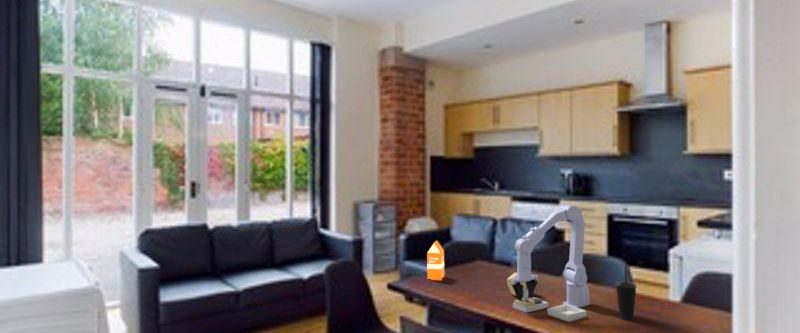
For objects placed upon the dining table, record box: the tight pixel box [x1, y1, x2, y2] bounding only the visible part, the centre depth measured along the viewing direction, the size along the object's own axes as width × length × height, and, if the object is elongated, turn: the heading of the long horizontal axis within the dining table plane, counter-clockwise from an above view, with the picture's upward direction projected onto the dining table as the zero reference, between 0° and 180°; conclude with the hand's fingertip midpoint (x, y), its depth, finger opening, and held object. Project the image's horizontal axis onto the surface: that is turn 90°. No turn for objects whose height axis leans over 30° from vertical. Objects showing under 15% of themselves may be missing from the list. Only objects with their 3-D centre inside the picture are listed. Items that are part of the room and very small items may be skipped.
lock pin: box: [521, 287, 529, 303], centre depth 201 cm, size 3×3×7 cm
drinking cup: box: [614, 267, 637, 321], centre depth 187 cm, size 8×8×20 cm
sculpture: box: [506, 271, 526, 296], centre depth 222 cm, size 12×12×11 cm
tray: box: [547, 303, 587, 323], centre depth 191 cm, size 11×11×3 cm
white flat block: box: [512, 296, 549, 313], centre depth 203 cm, size 13×8×4 cm, turn 120°
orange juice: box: [426, 240, 445, 281], centre depth 257 cm, size 8×9×20 cm
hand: (524, 298), depth 201 cm, fingers open, 6 cm apart
